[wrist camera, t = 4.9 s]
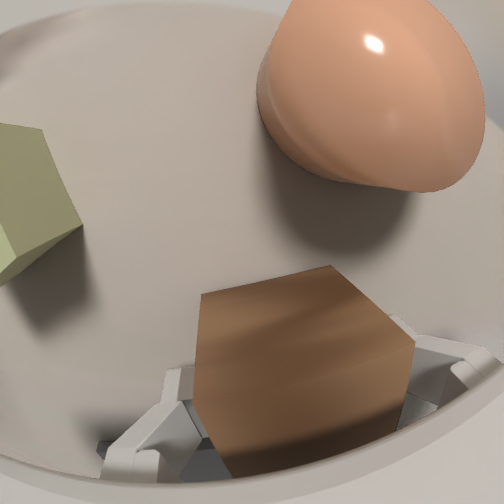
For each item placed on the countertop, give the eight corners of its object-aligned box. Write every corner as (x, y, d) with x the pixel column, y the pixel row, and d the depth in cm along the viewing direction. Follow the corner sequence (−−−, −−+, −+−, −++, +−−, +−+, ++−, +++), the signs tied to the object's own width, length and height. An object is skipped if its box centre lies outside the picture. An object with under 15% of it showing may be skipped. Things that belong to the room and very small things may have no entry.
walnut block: (330, 265, 10) (415, 341, 5) (336, 363, 11) (388, 451, 6) (201, 294, 9) (192, 403, 5) (231, 389, 11) (243, 494, 6)
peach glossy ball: (388, 34, 8) (449, -2, 4) (419, 173, 9) (495, 182, 6) (240, 30, 7) (257, -41, 3) (275, 195, 9) (318, 213, 5)
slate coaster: (217, 435, 12) (218, 448, 11) (246, 487, 14) (248, 496, 13) (99, 441, 11) (96, 451, 10) (150, 493, 13) (149, 501, 12)
